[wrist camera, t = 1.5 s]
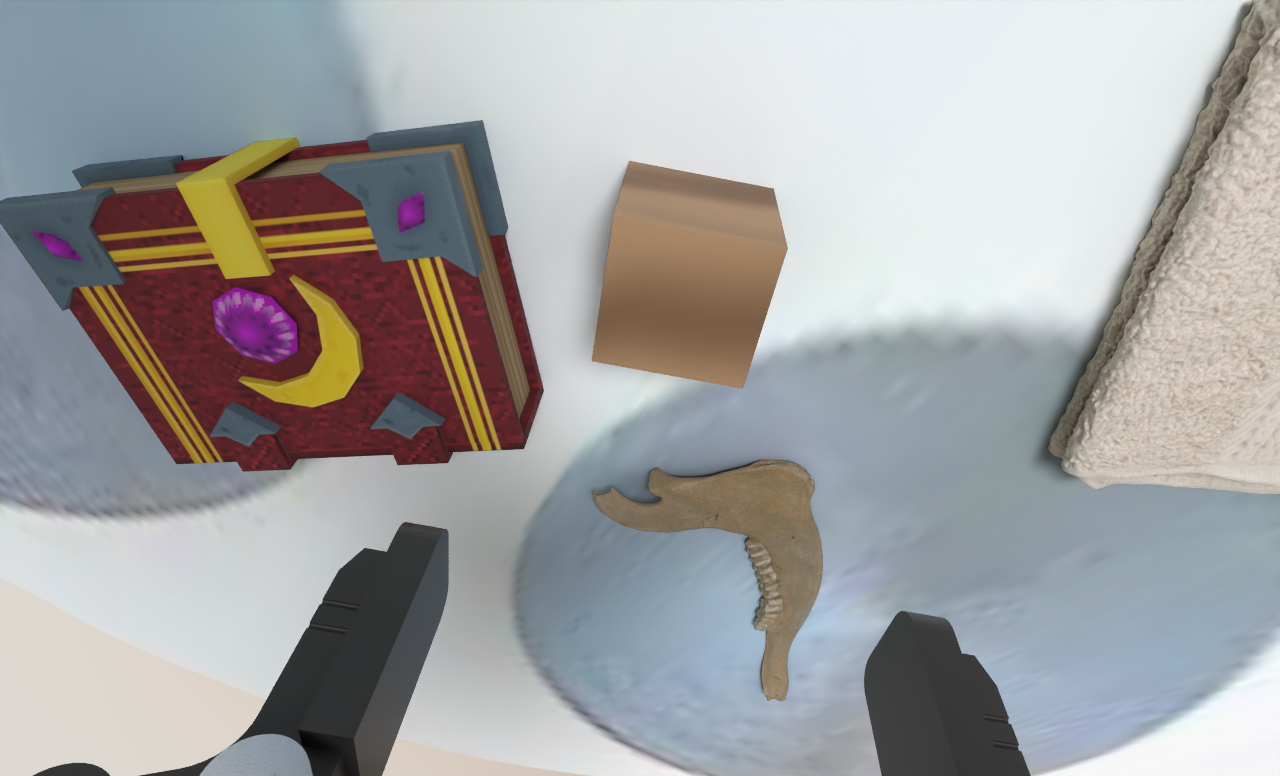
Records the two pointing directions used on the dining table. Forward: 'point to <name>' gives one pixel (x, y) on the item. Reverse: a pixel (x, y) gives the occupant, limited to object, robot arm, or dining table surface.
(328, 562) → the dining table surface
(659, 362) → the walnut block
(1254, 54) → the washcloth
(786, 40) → the dining table surface
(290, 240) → the decorative book
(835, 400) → the dining table surface
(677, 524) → the jawbone
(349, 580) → the robot arm
